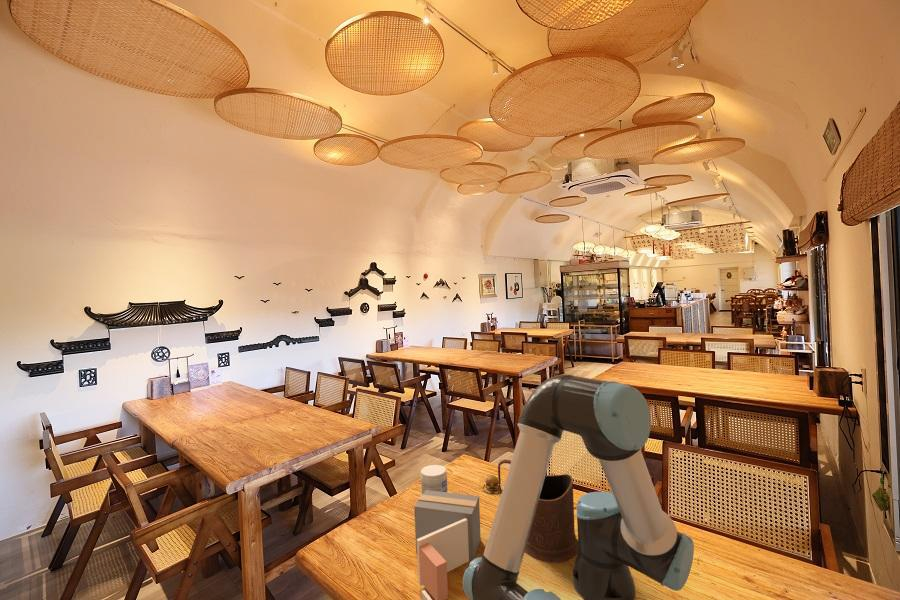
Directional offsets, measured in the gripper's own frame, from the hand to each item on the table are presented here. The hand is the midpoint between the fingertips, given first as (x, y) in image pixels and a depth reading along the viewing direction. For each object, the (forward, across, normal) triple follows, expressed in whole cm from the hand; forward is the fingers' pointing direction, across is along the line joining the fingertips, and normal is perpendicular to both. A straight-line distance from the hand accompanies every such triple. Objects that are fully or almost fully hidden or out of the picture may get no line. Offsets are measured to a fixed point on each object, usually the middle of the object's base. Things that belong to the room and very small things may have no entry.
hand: (448, 582), depth 89 cm
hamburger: (+42, +48, -11) cm, 64 cm away
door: (+9, +7, -9) cm, 14 cm away
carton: (+23, +15, -10) cm, 29 cm away
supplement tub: (+42, +21, -10) cm, 49 cm away
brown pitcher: (+8, +39, -11) cm, 41 cm away
